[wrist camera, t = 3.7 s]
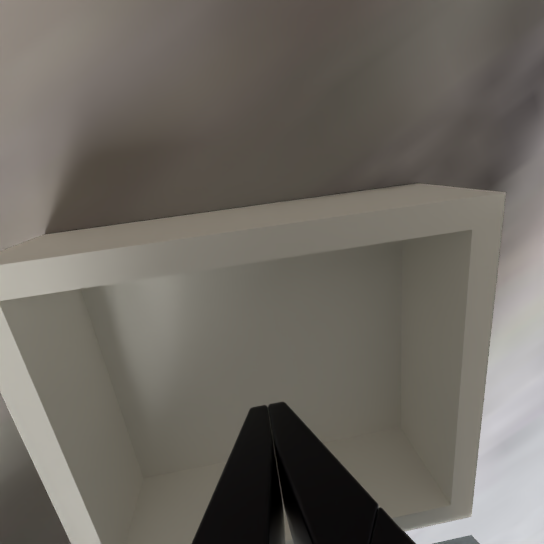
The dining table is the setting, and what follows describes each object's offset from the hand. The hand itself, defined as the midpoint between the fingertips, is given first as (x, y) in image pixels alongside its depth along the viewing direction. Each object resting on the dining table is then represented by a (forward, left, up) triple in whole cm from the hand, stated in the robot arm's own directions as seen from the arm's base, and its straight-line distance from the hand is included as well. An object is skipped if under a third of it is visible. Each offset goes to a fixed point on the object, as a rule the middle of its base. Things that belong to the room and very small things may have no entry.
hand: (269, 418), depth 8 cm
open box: (-3, 0, -8) cm, 8 cm away
